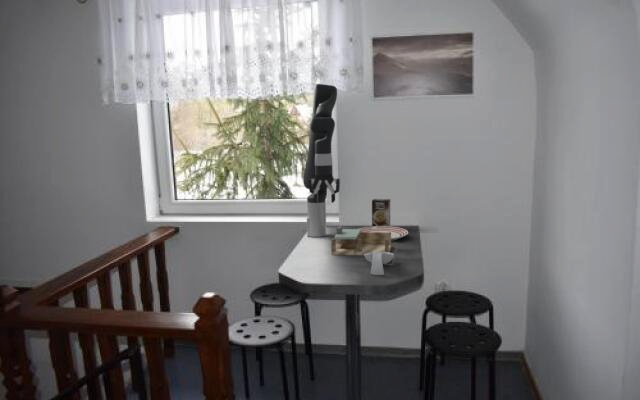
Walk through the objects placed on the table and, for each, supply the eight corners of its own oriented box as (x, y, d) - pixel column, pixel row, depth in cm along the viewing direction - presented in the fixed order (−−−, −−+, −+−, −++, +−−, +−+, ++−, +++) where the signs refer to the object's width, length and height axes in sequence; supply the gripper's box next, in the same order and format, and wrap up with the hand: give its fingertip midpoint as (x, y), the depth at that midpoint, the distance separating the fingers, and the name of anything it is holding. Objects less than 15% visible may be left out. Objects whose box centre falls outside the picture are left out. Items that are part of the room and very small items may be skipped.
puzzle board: (331, 255, 210) (331, 239, 209) (338, 247, 226) (337, 231, 225) (388, 257, 205) (388, 240, 204) (391, 247, 221) (391, 232, 220)
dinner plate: (407, 244, 228) (407, 237, 227) (348, 243, 233) (348, 236, 233) (409, 232, 254) (408, 226, 254) (355, 232, 260) (355, 225, 259)
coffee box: (371, 230, 261) (371, 200, 259) (374, 228, 268) (373, 198, 265) (388, 231, 259) (388, 200, 257) (390, 228, 265) (390, 198, 263)
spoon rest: (365, 259, 203) (364, 242, 202) (394, 259, 202) (393, 242, 201) (361, 276, 180) (361, 256, 179) (394, 276, 179) (394, 257, 178)
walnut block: (341, 251, 215) (341, 237, 214) (343, 248, 220) (343, 235, 219) (353, 251, 214) (353, 238, 213) (354, 249, 219) (354, 235, 218)
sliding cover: (334, 238, 209) (334, 230, 209) (340, 231, 225) (340, 223, 224) (355, 239, 207) (355, 231, 207) (360, 231, 223) (360, 223, 222)
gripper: (341, 163, 216) (342, 201, 218) (309, 163, 219) (310, 201, 221) (338, 164, 209) (339, 203, 211) (305, 165, 212) (306, 203, 214)
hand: (324, 202), depth 216 cm, fingers open, 6 cm apart
